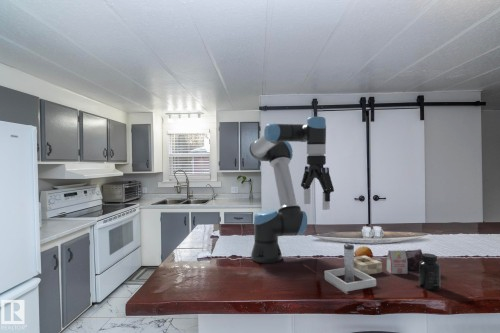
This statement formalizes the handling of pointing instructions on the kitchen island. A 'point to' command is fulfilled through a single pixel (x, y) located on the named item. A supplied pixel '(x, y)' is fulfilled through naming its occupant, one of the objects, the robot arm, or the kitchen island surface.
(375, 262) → the pin block
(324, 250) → the kitchen island surface
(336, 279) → the grey square frame
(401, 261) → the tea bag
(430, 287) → the supplement bottle
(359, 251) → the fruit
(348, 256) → the pin
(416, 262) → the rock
